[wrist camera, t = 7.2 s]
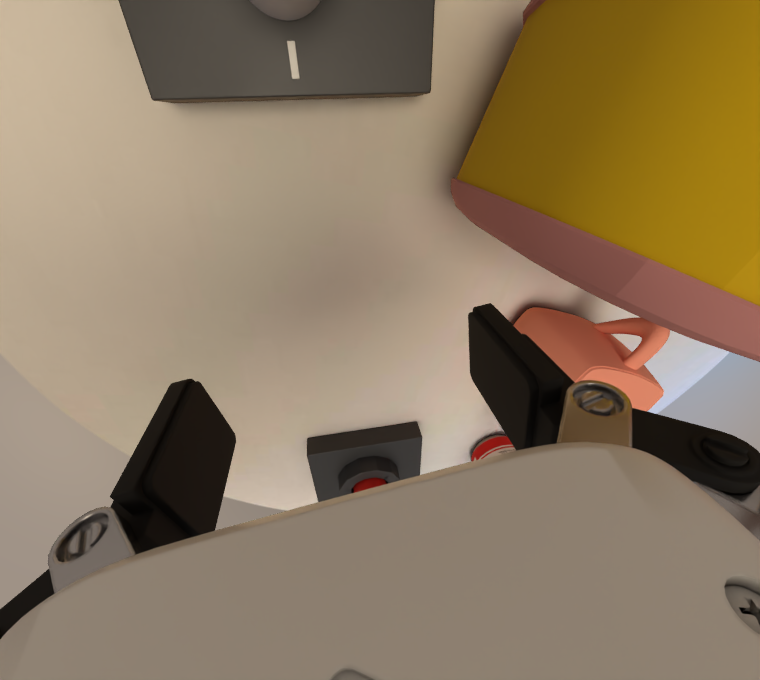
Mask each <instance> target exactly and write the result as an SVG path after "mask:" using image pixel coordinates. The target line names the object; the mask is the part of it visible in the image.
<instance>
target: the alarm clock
mask: <svg viewBox="0 0 760 680" xmlns="http://www.w3.org/2000/svg"><path fill="white" fill-rule="evenodd" d="M451 194H452V196H453V199H454V202H455V205H456V207H457V208H458V209H459V210H460V211H461V212H462V213H463V214H464V215H465V216H466V217H467V218H468V219H469V220H470V221H472V222H473V223H474V224H475V225H477V226H478V227H480V228H481V229H483V230H484V231H486V232H488V233H489V234H491V235H492V236H494V237H495V238H497V239H498V240H500V241H502V242H503V243H505V244H506V245H508V246H509V247H511V248H513V249H514V250H516V251H517V252H519V253H520V254H522V255H523V256H525V257H527V258H528V259H530V260H531V261H533V262H535V263H536V264H538V265H540V266H542V267H543V268H545V269H547V270H548V271H550V272H552V273H554V274H555V275H557V276H559V277H560V278H562V279H564V280H566V281H568V282H570V283H572V284H574V285H576V286H578V287H580V288H582V289H584V290H585V291H587V292H589V293H591V294H593V295H595V296H597V297H599V298H601V299H603V300H605V301H607V302H609V303H611V304H613V305H616V306H618V307H620V308H622V309H624V310H626V311H628V312H631V313H633V314H635V315H637V316H639V317H641V318H644V319H646V320H648V321H650V322H652V323H654V324H657V325H659V326H662V327H664V328H667V329H669V330H672V331H674V332H677V333H679V334H682V335H684V336H687V337H689V338H692V339H694V340H697V341H700V342H703V343H706V344H709V345H712V346H715V347H718V348H721V349H724V350H726V351H729V352H732V353H735V354H739V355H741V356H744V357H747V358H750V359H753V360H756V361H759V362H760V0H531V2H530V3H529V4H528V6H527V7H526V9H525V10H524V12H523V29H522V31H521V33H520V36H519V38H518V40H517V42H516V45H515V47H514V49H513V52H512V54H511V56H510V58H509V61H508V63H507V65H506V67H505V70H504V72H503V74H502V76H501V79H500V81H499V83H498V86H497V88H496V90H495V92H494V95H493V97H492V99H491V101H490V104H489V106H488V108H487V110H486V113H485V115H484V117H483V120H482V122H481V124H480V126H479V129H478V131H477V133H476V135H475V138H474V140H473V142H472V144H471V147H470V149H469V151H468V154H467V156H466V158H465V160H464V163H463V165H462V167H461V169H460V172H459V174H458V176H457V178H456V179H455V178H452V179H451Z"/></svg>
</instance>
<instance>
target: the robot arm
mask: <svg viewBox="0 0 760 680" xmlns="http://www.w3.org/2000/svg"><path fill="white" fill-rule="evenodd" d="M468 321H469V353H470V374H471V377H472V380H473V382H474V383H475V385H476V387H477V388H478V390H479V391H480V393H481V395H482V396H483V398H484V399H485V401H486V403H487V404H488V406H489V407H490V409H491V411H492V412H493V414H494V416H495V417H496V419H497V420H498V422H499V424H500V425H501V427H502V428H503V430H504V432H505V433H506V435H507V437H508V438H509V440H510V441H511V443H512V445H513V446H514V448H515V449H516V451H513V452H509V453H505V454H501V455H497V456H493V457H488V458H484V459H480V460H476V461H472V462H468V463H464V464H460V465H457V466H453V467H449V468H445V469H442V470H438V471H434V472H430V473H426V474H423V475H419V476H415V477H411V478H407V479H404V480H400V481H396V482H392V483H388V484H385V485H381V486H377V487H374V488H370V489H366V490H362V491H359V492H355V493H351V494H348V495H344V496H340V497H336V498H333V499H329V500H325V501H322V502H318V503H314V504H310V505H307V506H303V507H299V508H296V509H292V510H288V511H285V512H281V513H277V514H274V515H270V516H267V517H263V518H259V519H256V520H252V521H248V522H245V523H242V524H238V525H234V526H231V527H227V528H223V529H219V530H216V531H215V528H216V523H217V519H218V515H219V511H220V507H221V502H222V498H223V494H224V490H225V486H226V482H227V477H228V473H229V469H230V465H231V461H232V456H233V452H234V448H235V444H236V437H235V433H234V432H233V430H232V429H231V427H230V426H229V424H228V423H227V421H226V420H225V418H224V417H223V415H222V414H221V412H220V411H219V409H218V408H217V406H216V405H215V403H214V402H213V400H212V399H211V398H210V396H209V395H208V393H207V392H206V390H205V389H204V387H203V386H202V384H201V383H200V382H198V381H196V382H195V381H194V380H193V379H187V380H183V381H179V382H175V383H172V384H171V385H170V386H169V388H168V390H167V392H166V394H165V395H164V397H163V399H162V401H161V403H160V405H159V407H158V408H157V410H156V412H155V414H154V416H153V418H152V419H151V421H150V423H149V425H148V427H147V429H146V431H145V432H144V434H143V436H142V438H141V440H140V442H139V444H138V445H137V447H136V449H135V451H134V453H133V455H132V457H131V458H130V461H129V462H128V464H127V466H126V468H125V469H124V472H123V473H122V475H121V477H120V479H119V481H118V483H117V484H116V486H115V488H114V490H113V492H112V494H111V495H110V497H111V498H112V499H113V500H114V501H113V503H112V505H111V507H101V508H96V509H94V510H92V511H89V512H87V513H86V514H84V515H82V516H81V517H79V518H78V519H76V520H75V521H74V522H73V523H72V524H70V525H69V526H68V527H67V528H66V529H65V530H64V532H62V534H61V535H60V536H59V537H58V538H57V540H56V541H55V543H54V544H53V546H52V548H51V551H50V553H49V555H48V566H49V569H48V570H47V571H46V572H45V573H43V574H42V575H41V576H40V577H39V578H37V579H36V580H35V581H34V582H33V583H31V584H30V585H29V586H28V587H27V588H25V589H24V590H23V591H22V592H21V593H19V594H18V595H17V596H16V597H15V598H13V599H12V600H11V601H10V602H9V603H7V604H6V605H5V606H4V607H3V608H1V609H0V680H760V453H759V452H758V451H757V450H756V449H755V448H753V447H752V446H751V445H749V444H748V443H747V442H745V441H743V440H741V439H739V438H737V437H735V436H733V435H730V434H727V433H724V432H721V431H718V430H714V429H710V428H706V427H703V426H699V425H695V424H691V423H688V422H684V421H680V420H676V419H672V418H669V417H665V416H661V415H658V414H654V413H650V412H646V411H643V410H639V409H635V408H632V405H631V401H630V399H629V398H628V396H627V395H626V394H625V393H624V392H623V391H621V390H620V389H619V388H617V387H615V386H613V385H611V384H609V383H605V382H601V381H595V380H583V381H579V382H576V383H575V382H574V381H573V380H572V379H571V378H570V377H569V376H568V375H567V374H566V373H565V372H564V371H563V370H562V369H561V368H560V367H559V366H558V365H557V364H556V363H555V362H554V361H553V360H552V359H551V358H550V357H549V356H548V355H547V354H546V353H545V352H544V351H543V350H542V349H541V348H540V347H539V346H538V345H537V344H536V343H535V342H534V341H533V340H532V339H531V338H530V337H528V336H527V335H526V334H521V333H520V332H519V331H518V330H517V329H516V328H515V327H514V326H513V325H512V324H511V323H510V322H509V321H508V320H507V319H506V318H505V317H504V316H503V315H502V314H501V313H500V312H499V311H498V310H497V309H496V308H495V307H494V306H493V305H492V304H491V303H489V304H485V305H481V306H477V307H474V308H473V312H470V313H469V315H468Z"/></svg>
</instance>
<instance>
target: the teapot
mask: <svg viewBox="0 0 760 680" xmlns="http://www.w3.org/2000/svg"><path fill="white" fill-rule="evenodd" d="M513 326H514V327H515V328H516V329H517V330H518V331H519V332H520V333H521V334H526V335H527V336H528V337H530V338H531V339H532V340H533V341H534V342H535V343H536V344H537V345H538V346H539V347H540V348H541V349H542V350H543V351H544V352H545V353H546V354H547V355H548V356H549V357H550V358H551V359H552V360H553V361H554V362H555V363H556V364H557V365H558V366H559V367H560V368H561V369H562V370H563V371H564V372H565V373H566V374H567V375H568V376H569V377H570V378H571V379H572V380H573V381H574V382H575V383H576V382H579V381H583V380H595V381H601V382H605V383H609V384H611V385H613V386H615V387H617V388H619V389H620V390H621V391H623V392H624V393H625V394H626V395H627V396H628V398H629V399H630V401H631V405H632V408H635V409H639V410H643V411H646V412H647V411H648V410H649V409H650V408H651V407H652V406H653V405H654V404H655V403H656V402H657V401H658V400H659V399H660V398H661V397H662V396H663V392H664V391H663V389H662V387H661V386H660V384H659V383H658V382H657V380H656V379H655V378H654V377H653V375H652V374H651V373H650V372H649V371H648V369H647V368H646V367H645V366H644V365H643V364H645V363H646V362H647V361H648V360H649V359H650V358H651V357H653V356H654V355H655V354H656V353H657V352H658V351H659V350H660V349H661V348H662V346H663V345H664V344H665V343H666V341H667V339H668V337H669V334H670V330H669V329H667V328H664V327H662V326H659V325H657V324H654V323H652V322H650V321H648V320H646V319H644V318H627V319H621V320H615V321H609V322H604V323H599V324H595V323H593V322H591V321H589V320H586V319H584V318H581V317H579V316H575V315H572V314H568V313H564V312H560V311H556V310H552V309H547V308H538V307H534V308H530V309H528V310H526V311H525V312H524V313H523V314H522V315H521V316H520V318H519V319H518V320H517V321H516V322H515V324H514V325H513ZM611 334H631V335H637V336H640V337H642V341H641V343H640V344H639V346H638V347H637V348H636V349H635V350H634V351H633V352H631V351H630V350H629V349H628V348H627V347H626V346H624V345H623V344H622V343H621V342H620V341H619V340H617V339H616V338H615V337H614V336H612V335H611Z"/></svg>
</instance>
